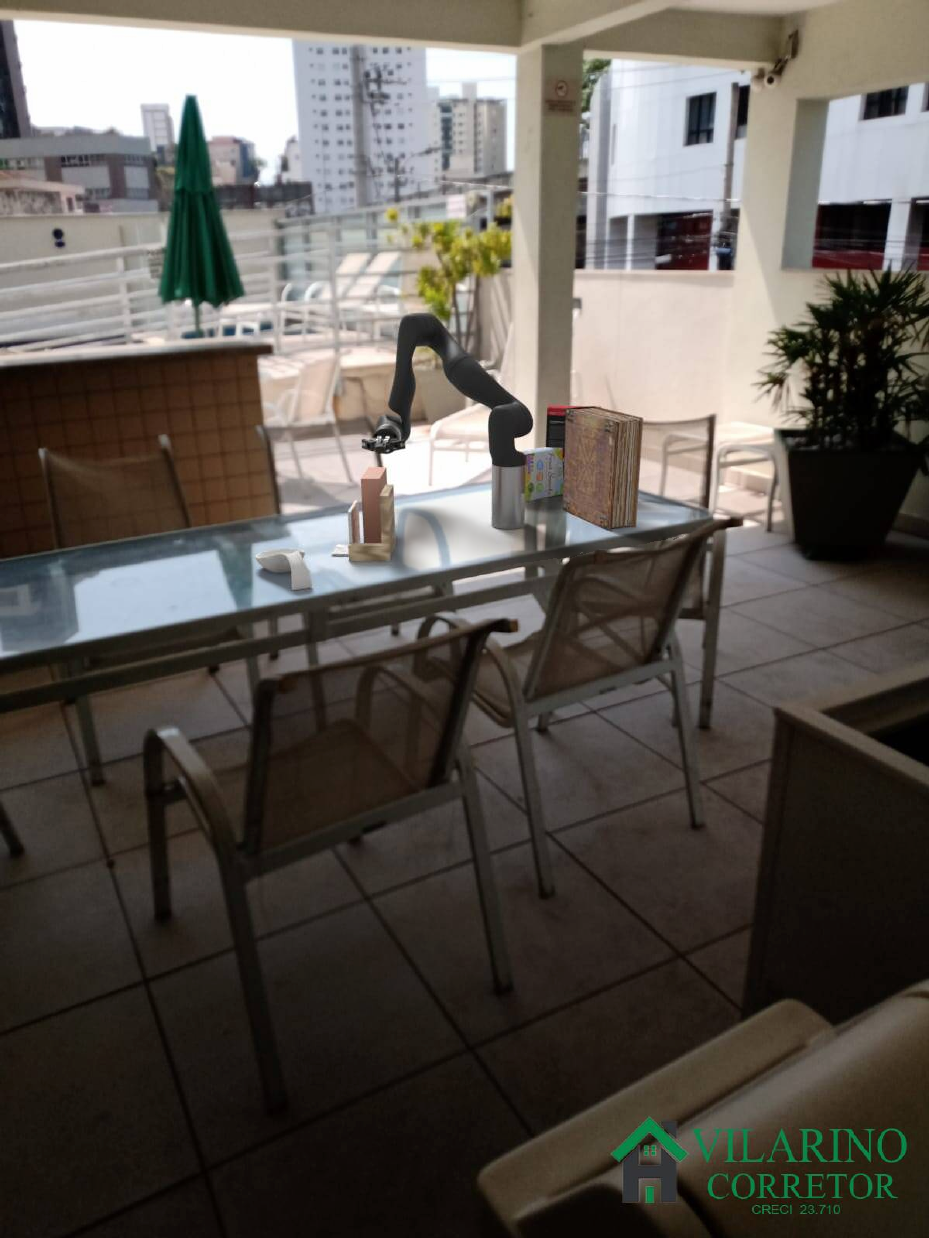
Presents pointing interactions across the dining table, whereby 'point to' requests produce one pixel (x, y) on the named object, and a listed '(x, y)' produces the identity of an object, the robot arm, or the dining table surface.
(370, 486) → the book
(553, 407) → the graphics card box
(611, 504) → the book
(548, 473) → the snack box
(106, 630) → the dining table surface
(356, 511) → the bookend
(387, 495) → the board
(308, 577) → the spoon rest
